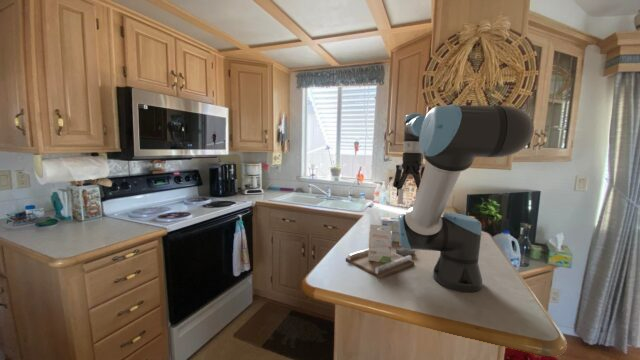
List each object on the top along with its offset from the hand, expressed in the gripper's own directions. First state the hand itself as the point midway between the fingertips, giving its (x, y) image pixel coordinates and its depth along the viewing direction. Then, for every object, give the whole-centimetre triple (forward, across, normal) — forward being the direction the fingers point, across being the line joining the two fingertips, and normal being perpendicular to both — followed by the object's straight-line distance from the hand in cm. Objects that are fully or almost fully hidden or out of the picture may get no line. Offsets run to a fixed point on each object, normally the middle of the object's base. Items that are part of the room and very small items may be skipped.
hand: (408, 205), depth 112 cm
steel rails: (+21, 0, -17) cm, 27 cm away
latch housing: (+21, 0, 0) cm, 21 cm away
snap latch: (+18, 0, 0) cm, 18 cm away
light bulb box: (+22, -15, +9) cm, 28 cm away
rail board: (+21, 0, -17) cm, 27 cm away
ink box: (+20, 0, -17) cm, 27 cm away
